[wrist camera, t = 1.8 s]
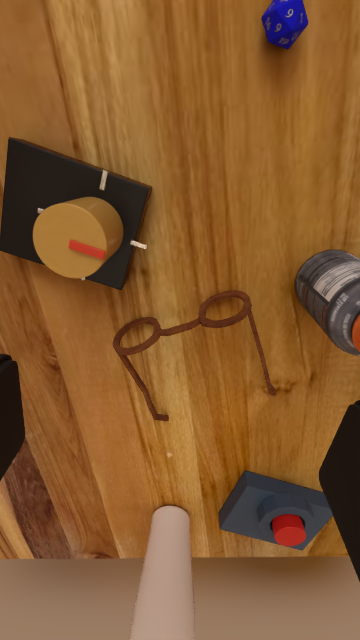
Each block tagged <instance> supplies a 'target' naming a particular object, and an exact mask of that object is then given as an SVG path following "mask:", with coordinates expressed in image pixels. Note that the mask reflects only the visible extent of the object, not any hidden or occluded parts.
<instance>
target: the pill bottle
mask: <svg viewBox="0 0 360 640" xmlns="http://www.w3.org/2000/svg"><path fill="white" fill-rule="evenodd" d="M295 292H296V295H297V298H298V300H299V301H300V303H301V304H302V305H303V306H304V308H305V309H306V310H307V311H308V313H309V314H310V315H311V316H312V317H313V318H314V320H315V321H316V322H317V323H318V325H319V326H320V327H321V328H322V329H323V331H324V332H325V333H326V334H327V336H328V337H329V338H330V339H331V341H332V342H333V343H334V344H335V345H336V346H337V347H338V348H340V349H341V350H343V351H345V352H347V353H349V354H353V355H356V356H360V259H359V258H357V257H355V256H353V255H351V254H350V253H348V252H345V251H341V250H327V251H323V252H320V253H318V254H316V255H314V256H312V257H311V258H310V259H308V260H307V261H306V262H305V263H304V264H303V265H302V267H301V268H300V270H299V272H298V274H297V276H296V281H295Z"/></svg>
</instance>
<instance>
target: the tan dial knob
mask: <svg viewBox="0 0 360 640" xmlns="http://www.w3.org/2000/svg"><path fill="white" fill-rule="evenodd" d="M122 240H123V224H122V221H121V218H120V216H119V214H118V213H117V211H116V210H115V209H114V208H113V207H112V206H111V205H110V204H109V203H108V202H106V201H104V200H102V199H100V198H96V197H83V198H79V199H75V200H71V201H67V202H63V203H59V204H55V205H52V206H50V207H48V208H46V209H45V210H44V211H43V212H42V213H41V214H40V215H39V216H38V218H37V220H36V222H35V225H34V229H33V242H34V246H35V249H36V252H37V254H38V256H39V257H40V259H41V260H42V262H43V263H44V264H45V265H46V266H47V267H48V268H49V269H51V270H52V271H53V272H55V273H57V274H59V275H61V276H64V277H68V278H84V277H87V276H89V275H91V274H93V273H95V272H96V271H97V270H98V269H99V268H100V267H101V266H102V265H103V264H104V263H105V262H106V261H107V260H108V259H109V258H110V257H111V256H112V255H113V254H114V253H115V252H116V251H117V250H118V248H119V247H120V245H121V243H122Z"/></svg>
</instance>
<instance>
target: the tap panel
mask: <svg viewBox="0 0 360 640" xmlns="http://www.w3.org/2000/svg"><path fill="white" fill-rule="evenodd" d="M151 190H152V187H151V186H149V185H146V184H143V183H141V182H138V181H135V180H132V179H130V178H127V177H124V176H121V175H119V174H116V173H113V172H110V171H108V170H105V169H102V168H99V167H97V166H94V165H91V164H88V163H86V162H83V161H80V160H77V159H75V158H72V157H69V156H66V155H64V154H61V153H58V152H55V151H53V150H50V149H47V148H44V147H42V146H39V145H36V144H33V143H31V142H28V141H25V140H22V139H17V138H11V137H9V140H8V152H7V163H6V175H5V186H4V198H3V209H2V221H1V232H0V251H3V252H6V253H9V254H12V255H15V256H18V257H21V258H24V259H27V260H30V261H33V262H36V263H39V264H43V265H45V264H44V263H43V262H42V260H41V259H40V257H39V256H38V254H37V252H36V249H35V246H34V242H33V229H34V225H35V222H36V220H37V218H38V216H39V215H40V214H41V213H42V212H43V211H44V210H45V209H46V208H48V207H50V206H52V205H55V204H59V203H63V202H67V201H71V200H75V199H79V198H83V197H96V198H100V199H102V200H104V201H106V202H108V203H109V204H110V205H111V206H112V207H113V208H114V209H115V210H116V211H117V213H118V214H119V216H120V218H121V221H122V224H123V240H122V243H121V245H120V247H119V248H118V250H117V251H116V252H115V253H114V254H113V255H112V256H111V257H110V258H109V259H108V260H107V261H106V262H105V263H104V264H103V265H102V266H101V267H100V268H99V269H98V270H97V271H96V272H95V273H93V274H91V275H89V276H87V277H84V278H81V279H82V280H85V279H88V280H91V281H94V282H97V283H101V284H104V285H107V286H110V287H113V288H116V289H119V290H122V288H123V287H124V285H125V284H126V281H127V277H128V273H129V270H130V266H131V263H132V259H133V255H134V252H135V248H136V246H137V247H140V248H143V249H147V245H145V244H142V243H139V242H137V241H138V237H139V234H140V230H141V226H142V223H143V219H144V215H145V212H146V208H147V205H148V201H149V197H150V194H151Z"/></svg>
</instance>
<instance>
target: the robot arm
mask: <svg viewBox="0 0 360 640" xmlns="http://www.w3.org/2000/svg"><path fill="white" fill-rule="evenodd" d="M24 438H25V427H24V418H23V409H22V400H21V390H20V381H19V372H18V365H17V362H16V361H12V358H11V356H10V355H6V354H0V481H1V479H2V477H3V476H4V474H5V473H6V471H7V469H8V468H9V466H10V464H11V463H12V461H13V460H14V458H15V456H16V455H17V453H18V452H19V450H20V448H21V446H22V445H23V442H24ZM319 481H320V484H321V487H322V489H323V492H324V494H325V497H326V499H327V502H328V504H329V507H330V509H331V512H332V514H333V517H334V519H335V522H336V524H337V526H338V529H339V531H340V534H341V536H342V539H343V541H344V544H345V546H346V549H347V551H348V554H349V556H350V559H351V561H352V564H353V566H354V569H355V571H356V574H357V576H358V579H359V581H360V400H358V401H356V402H355V403H354V404H352V405H350V406H349V407H348V409H347V411H346V413H345V415H344V417H343V419H342V422H341V424H340V426H339V428H338V430H337V433H336V435H335V437H334V439H333V441H332V444H331V446H330V448H329V450H328V452H327V455H326V457H325V459H324V461H323V463H322V465H321V468H320V470H319Z"/></svg>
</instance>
